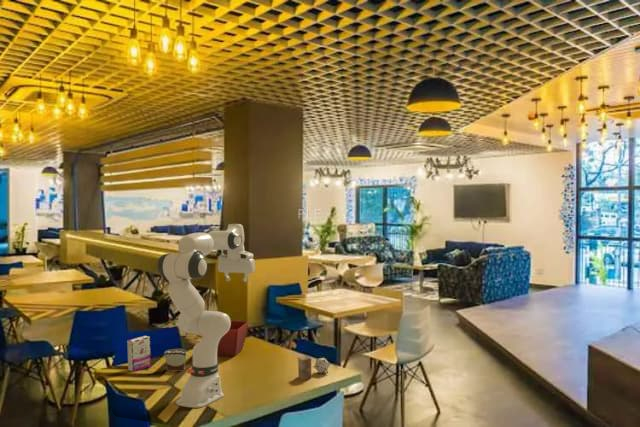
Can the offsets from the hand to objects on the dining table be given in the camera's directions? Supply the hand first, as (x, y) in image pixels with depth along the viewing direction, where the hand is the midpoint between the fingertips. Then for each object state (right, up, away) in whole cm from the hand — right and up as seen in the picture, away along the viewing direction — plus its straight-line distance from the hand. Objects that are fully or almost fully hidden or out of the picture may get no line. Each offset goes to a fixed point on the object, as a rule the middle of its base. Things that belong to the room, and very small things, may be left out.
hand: (236, 281), depth 262 cm
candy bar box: (-54, -49, +10) cm, 73 cm away
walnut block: (+36, -48, -7) cm, 60 cm away
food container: (-33, -48, +9) cm, 59 cm away
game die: (+44, -48, 0) cm, 65 cm away
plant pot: (-11, -47, +36) cm, 61 cm away
